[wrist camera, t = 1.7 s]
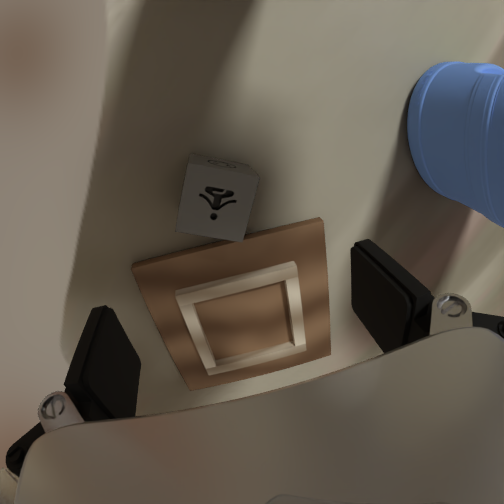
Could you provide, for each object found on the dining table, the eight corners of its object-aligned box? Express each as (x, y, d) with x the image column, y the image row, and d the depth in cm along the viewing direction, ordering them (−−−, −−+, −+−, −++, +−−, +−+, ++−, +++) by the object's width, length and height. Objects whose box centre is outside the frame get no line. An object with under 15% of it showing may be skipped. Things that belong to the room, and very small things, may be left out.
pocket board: (132, 263, 27) (129, 274, 25) (319, 217, 28) (327, 224, 27) (189, 384, 35) (190, 396, 34) (328, 349, 37) (333, 360, 35)
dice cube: (248, 165, 25) (259, 177, 21) (234, 219, 27) (242, 242, 23) (189, 153, 24) (188, 163, 20) (178, 209, 26) (175, 231, 21)
